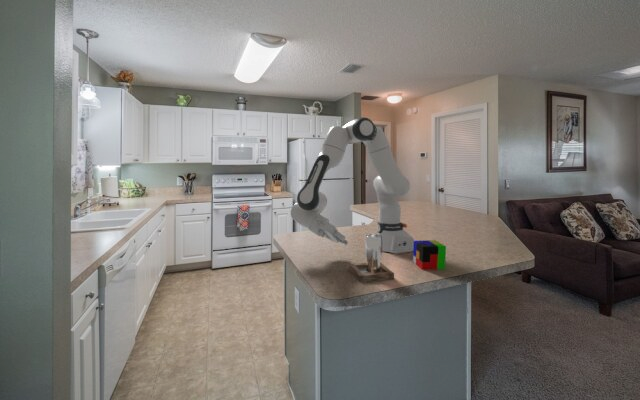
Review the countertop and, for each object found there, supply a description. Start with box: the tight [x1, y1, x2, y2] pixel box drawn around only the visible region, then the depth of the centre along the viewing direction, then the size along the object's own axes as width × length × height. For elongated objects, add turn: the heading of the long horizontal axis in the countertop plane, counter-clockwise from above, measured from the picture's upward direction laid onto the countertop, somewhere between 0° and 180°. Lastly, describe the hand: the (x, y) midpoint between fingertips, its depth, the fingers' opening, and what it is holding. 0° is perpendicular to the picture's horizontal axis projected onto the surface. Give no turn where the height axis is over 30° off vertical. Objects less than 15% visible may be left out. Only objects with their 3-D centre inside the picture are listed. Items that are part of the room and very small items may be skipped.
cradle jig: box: [348, 261, 395, 283], centre depth 123 cm, size 14×14×2 cm
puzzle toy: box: [412, 239, 447, 271], centre depth 133 cm, size 10×10×10 cm
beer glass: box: [364, 233, 383, 273], centre depth 124 cm, size 7×7×15 cm
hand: (346, 241), depth 136 cm, fingers open, 8 cm apart
